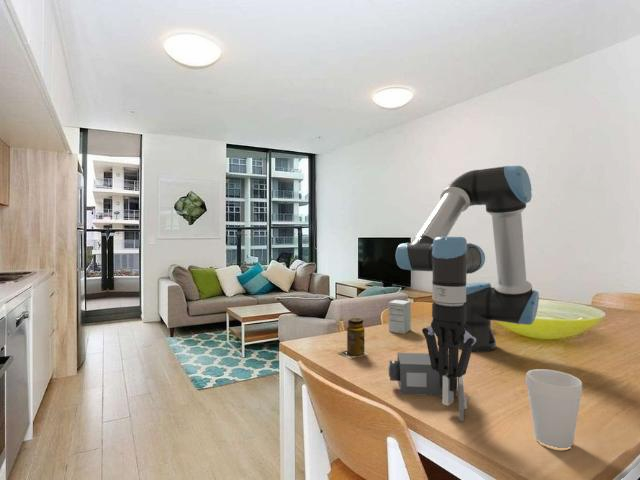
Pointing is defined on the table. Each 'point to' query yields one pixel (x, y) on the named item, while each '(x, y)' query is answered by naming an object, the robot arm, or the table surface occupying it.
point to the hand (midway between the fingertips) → (448, 402)
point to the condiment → (355, 339)
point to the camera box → (415, 375)
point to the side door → (461, 398)
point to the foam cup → (554, 405)
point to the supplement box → (399, 316)
